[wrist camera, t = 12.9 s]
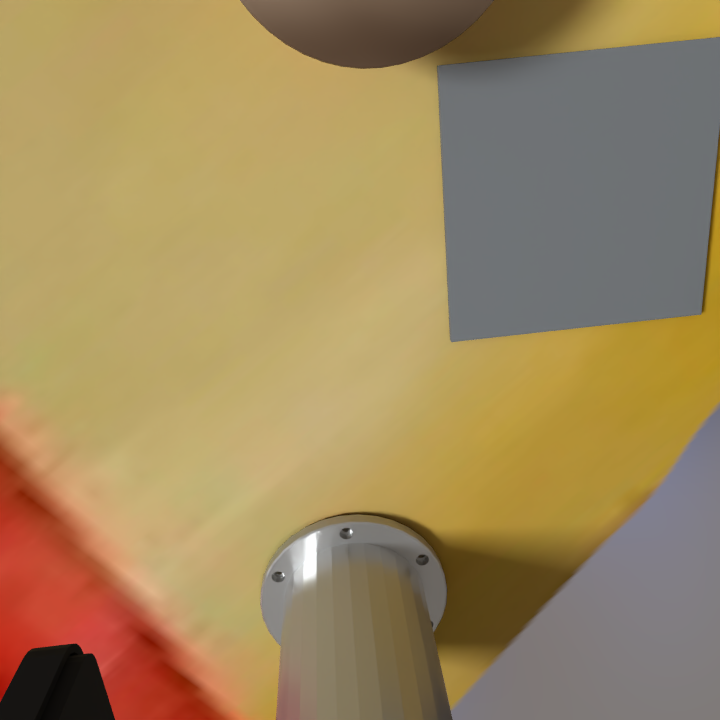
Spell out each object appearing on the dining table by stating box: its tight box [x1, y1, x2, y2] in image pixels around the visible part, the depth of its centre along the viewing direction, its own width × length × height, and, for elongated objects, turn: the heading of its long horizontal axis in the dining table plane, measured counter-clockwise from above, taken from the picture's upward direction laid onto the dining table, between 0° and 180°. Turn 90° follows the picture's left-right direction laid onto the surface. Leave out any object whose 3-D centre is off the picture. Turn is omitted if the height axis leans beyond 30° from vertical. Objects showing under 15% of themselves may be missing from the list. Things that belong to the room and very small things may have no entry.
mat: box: [437, 37, 720, 342], centre depth 37 cm, size 15×15×1 cm
